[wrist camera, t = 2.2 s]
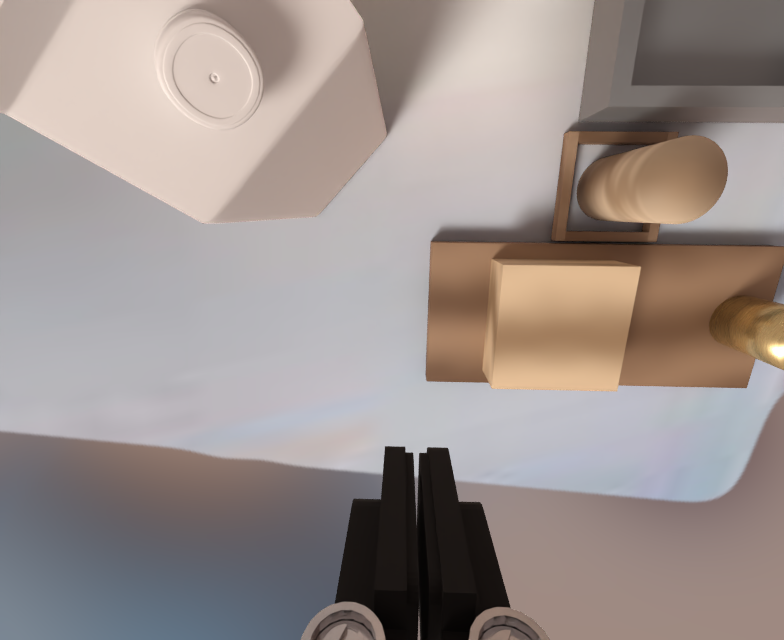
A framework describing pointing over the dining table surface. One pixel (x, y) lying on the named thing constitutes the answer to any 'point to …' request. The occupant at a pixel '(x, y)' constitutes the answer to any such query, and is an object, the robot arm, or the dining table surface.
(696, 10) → the tray
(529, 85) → the dining table surface
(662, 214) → the dowel
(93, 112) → the milk carton
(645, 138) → the socket ring
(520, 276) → the thick square wood block
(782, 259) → the board
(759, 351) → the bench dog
